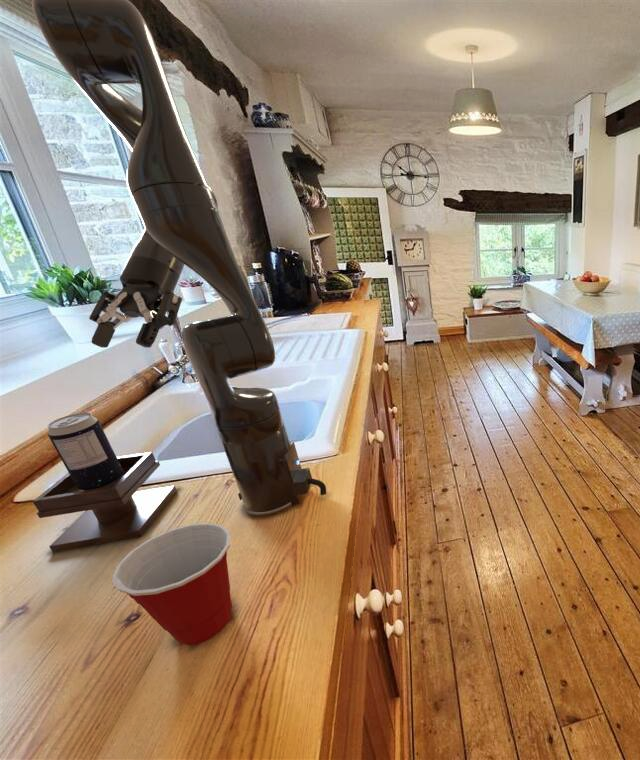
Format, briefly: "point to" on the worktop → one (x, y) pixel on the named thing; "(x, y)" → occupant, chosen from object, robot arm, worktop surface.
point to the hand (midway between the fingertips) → (120, 345)
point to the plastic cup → (181, 580)
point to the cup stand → (106, 505)
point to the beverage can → (85, 451)
